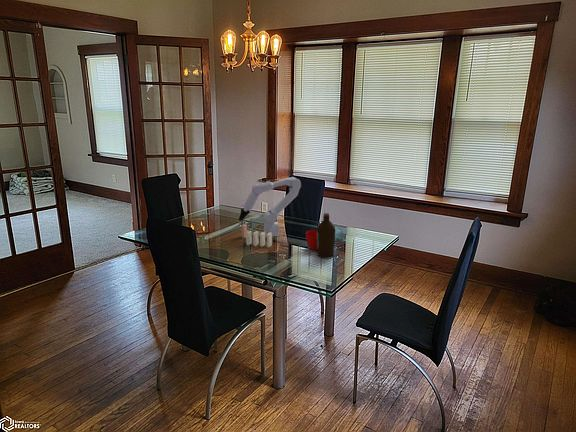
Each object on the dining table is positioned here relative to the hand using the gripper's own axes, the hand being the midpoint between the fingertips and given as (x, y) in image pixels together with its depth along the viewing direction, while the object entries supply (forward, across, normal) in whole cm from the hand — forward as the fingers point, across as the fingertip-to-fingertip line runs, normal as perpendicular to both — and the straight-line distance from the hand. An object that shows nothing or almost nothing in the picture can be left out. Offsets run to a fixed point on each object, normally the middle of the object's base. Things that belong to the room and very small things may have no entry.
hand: (240, 219), depth 265 cm
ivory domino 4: (+4, +14, +24) cm, 28 cm away
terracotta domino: (+10, -4, +7) cm, 13 cm away
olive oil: (-10, +30, +55) cm, 63 cm away
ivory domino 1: (+9, +10, +12) cm, 19 cm away
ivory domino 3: (+6, +13, +20) cm, 25 cm away
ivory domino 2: (+8, +11, +16) cm, 21 cm away
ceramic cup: (-9, +17, +49) cm, 53 cm away
